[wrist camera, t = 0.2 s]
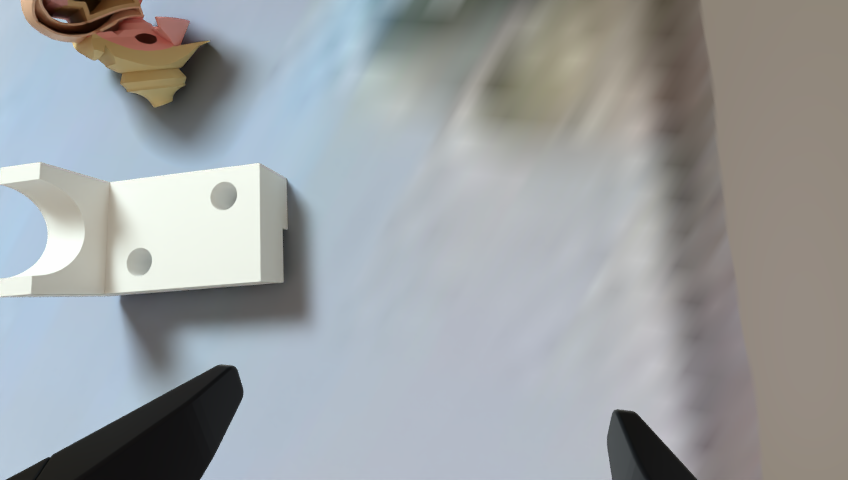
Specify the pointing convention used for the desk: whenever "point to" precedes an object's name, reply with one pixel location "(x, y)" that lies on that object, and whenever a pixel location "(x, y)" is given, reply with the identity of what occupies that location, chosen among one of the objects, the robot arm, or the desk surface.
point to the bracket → (152, 231)
